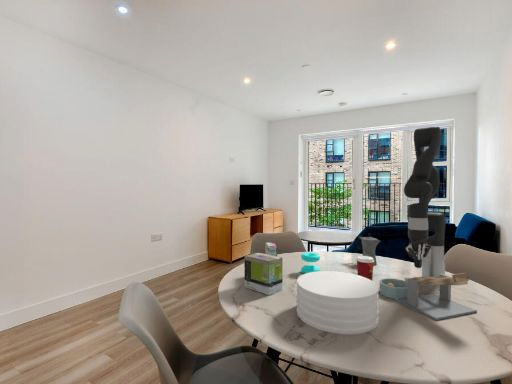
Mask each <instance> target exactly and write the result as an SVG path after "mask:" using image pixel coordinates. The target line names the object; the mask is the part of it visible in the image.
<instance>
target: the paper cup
mask: <svg viewBox="0 0 512 384" xmlns="http://www.w3.org/2000/svg"><path fill="white" fill-rule="evenodd" d="M355 260H356V267H357V269H356V270H357V272H356V273H357V275H359V276H362V277H365V278H367V279H369V280H371V281H373V278H374V277H373V275H374V266H373V263H374V260H373V258H372V257H369V256H362V255H358V256H356V259H355Z"/></svg>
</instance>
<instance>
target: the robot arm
mask: <svg viewBox="0 0 512 384" xmlns="http://www.w3.org/2000/svg"><path fill="white" fill-rule="evenodd" d="M442 135H443V134H442V130H441V127H440V126H438V125H433V126H432V125H431V126H426V127H421V128H420V127H419V128H415V130H414V131H413V144H414V151H415V159H416V160H415V162H414V164H413V168H412V173H411V175H410V177H409V178H408V180H407V181H406V182H405V184H404V187H403V194H404V195H405V197H407V198H408V199H418V202H415V203H410V204H409V205H408V220H407V221H408V222H407V228H408V229H407V237H408V239H409V241H408V245H407V246H405V247H404V250H405V251H406V253H407V255H408V256H409V258H412V259H413V262H414V263H413V265H414V268H417V269H421V277H440V274H444V275H446V260H445V233H446V230H445V229H446V216H445V215H444V213H441V212H433V211H432V212H429V211H428V210H429V209H428V208H429V203H430V202H431V200H432V199H433V198H434V197H435V195H436V193H437V192H438V190H439V188H440V173H439V171H438V168H436V167H435V165H434V164H433V163H434V160H435V158H436V155H437V153H438V150H439V148H440V145H441V142H442V138H443V137H442ZM425 147H426V148H427V149H426V150H424V148H425ZM431 231H432V232H434V234H432V235H430V236H429V232H431Z"/></svg>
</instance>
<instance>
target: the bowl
mask: <svg viewBox="0 0 512 384" xmlns="http://www.w3.org/2000/svg"><path fill="white" fill-rule="evenodd" d="M388 283H392V284H393V285H394V287H392V286H388V285H387V284H388ZM378 285H379V286H378V288H379V293H380V294H381V295H382V296H384V297H387V298H390V299H395V300H397V299H402V298H407V296H408V284H407V282H406V281H405V279H404V280H403V279H398V278H390V277H389V278H388V277H386V278H382V279H380V280H379V284H378Z"/></svg>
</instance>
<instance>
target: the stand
mask: <svg viewBox="0 0 512 384" xmlns="http://www.w3.org/2000/svg"><path fill="white" fill-rule="evenodd" d="M440 277H451V276H450V275H447V274H445V275H444V274H440ZM407 278H408V296H407V298H402V299H396V302H397V303H399V304H401V305H403V306H405V307H408V308H409V309H411V310H414V311H415V312H417V313H419V314H421V315H424V316H426V317H428V318H430V319H432V320H434V321H436V322H437V321H443V320H445V319H446V320H447V319H452V318H456V317H461V315H462V316H465V314H467V315H471V314H470V313H472V314H475V313H474V312H477V313H478V310H477V309H475V308H472V307H469V306H467V305H464V304H462V303H459V302H457V301H453V300H452V299H451V298H452V297H451V296H452V285H439V295H438V294H436V293H429V294H421V295H419V281H417V280H414V279H411V278H412V277H407Z"/></svg>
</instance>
